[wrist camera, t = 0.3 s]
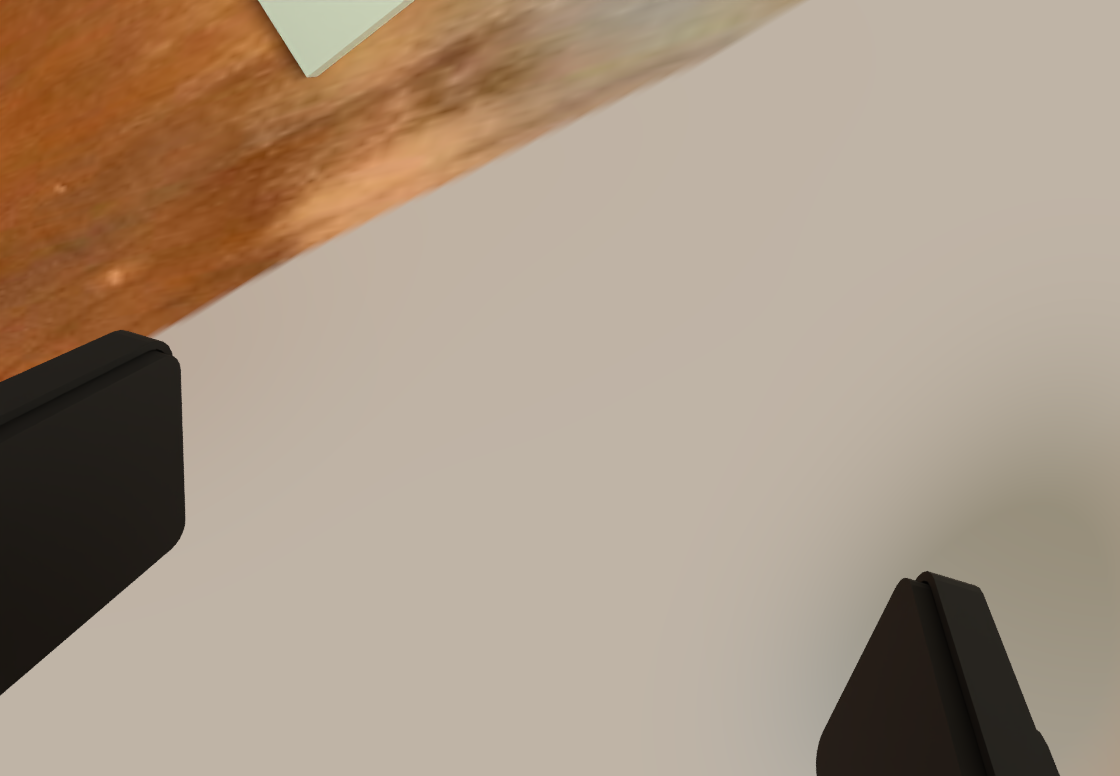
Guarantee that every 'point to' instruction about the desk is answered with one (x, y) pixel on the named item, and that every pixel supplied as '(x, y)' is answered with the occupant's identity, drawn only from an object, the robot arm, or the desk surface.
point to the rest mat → (327, 27)
